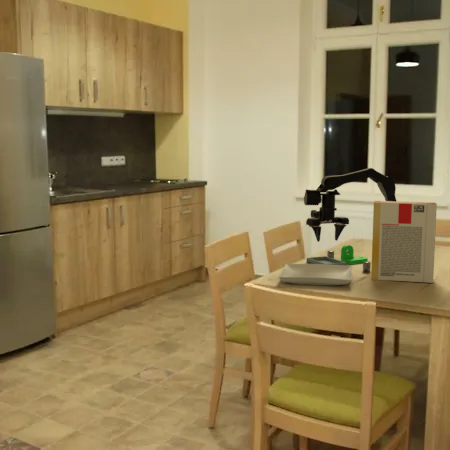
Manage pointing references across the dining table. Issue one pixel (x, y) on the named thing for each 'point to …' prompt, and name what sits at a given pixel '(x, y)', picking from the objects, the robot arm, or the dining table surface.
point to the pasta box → (403, 241)
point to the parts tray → (325, 261)
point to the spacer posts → (331, 253)
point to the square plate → (316, 274)
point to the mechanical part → (351, 256)
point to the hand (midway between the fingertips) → (327, 240)
